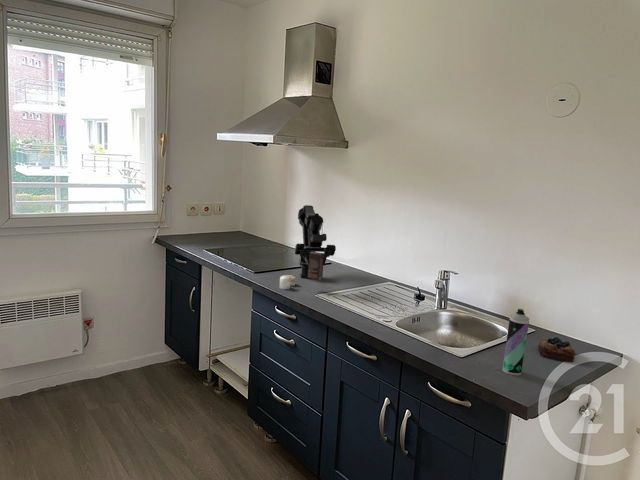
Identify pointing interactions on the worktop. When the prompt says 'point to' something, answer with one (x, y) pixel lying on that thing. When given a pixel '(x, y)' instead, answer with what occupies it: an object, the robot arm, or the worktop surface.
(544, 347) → the pastry
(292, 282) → the birch block
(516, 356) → the spray can
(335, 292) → the worktop surface
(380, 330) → the worktop surface
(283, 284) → the plastic cylinder
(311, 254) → the box
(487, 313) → the worktop surface
